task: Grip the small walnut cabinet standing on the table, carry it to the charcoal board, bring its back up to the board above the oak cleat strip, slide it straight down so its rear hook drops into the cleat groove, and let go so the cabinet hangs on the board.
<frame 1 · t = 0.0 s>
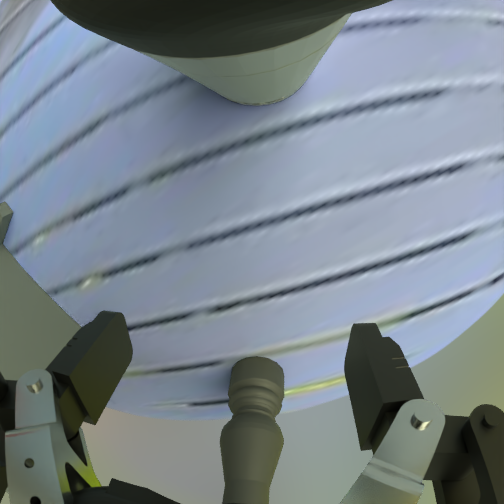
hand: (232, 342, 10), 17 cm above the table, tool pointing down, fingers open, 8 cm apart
wall board: (41, 294, 32), on the table
candle holder: (257, 374, 34), on the table
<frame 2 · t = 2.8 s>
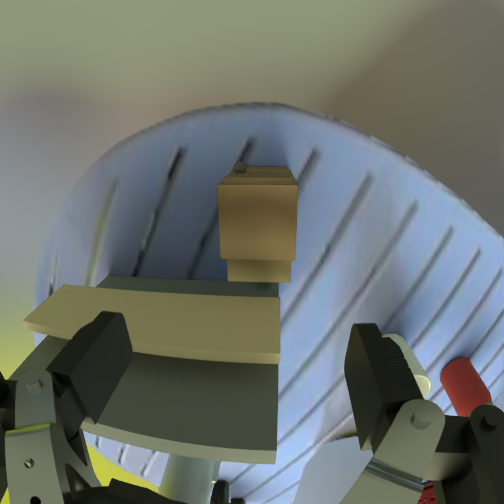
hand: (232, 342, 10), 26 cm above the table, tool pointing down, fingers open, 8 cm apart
plant pot: (422, 487, 63), on the table
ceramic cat: (230, 492, 64), on the table
beer can: (453, 368, 43), on the table
white cup: (385, 349, 41), on the table
wall board: (186, 286, 39), on the table
cabinet: (263, 195, 34), on the table
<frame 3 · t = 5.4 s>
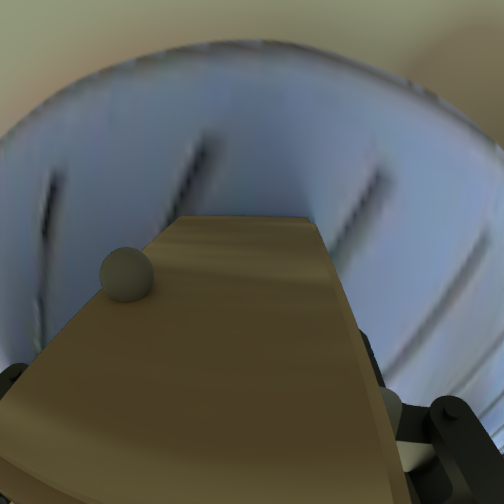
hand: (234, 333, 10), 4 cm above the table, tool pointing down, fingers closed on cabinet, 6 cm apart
cabinet: (244, 286, 14), on the table, touching gripper
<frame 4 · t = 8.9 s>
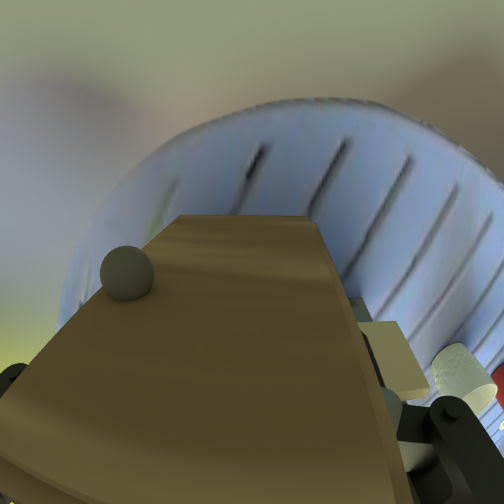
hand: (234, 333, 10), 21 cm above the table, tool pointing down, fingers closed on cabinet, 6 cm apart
beer can: (500, 372, 38), on the table
white cup: (448, 358, 37), on the table
wall board: (259, 305, 35), on the table
cabinet: (244, 285, 14), point 18 cm above the table, touching gripper
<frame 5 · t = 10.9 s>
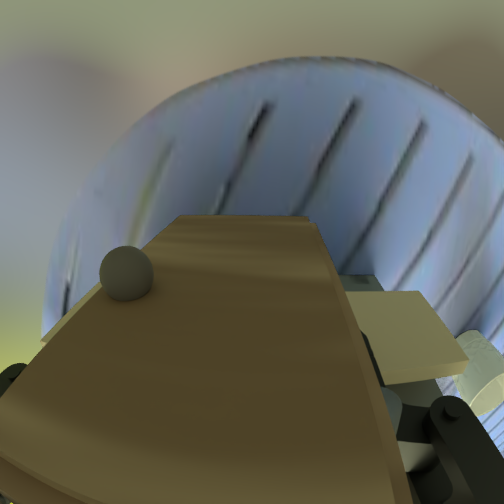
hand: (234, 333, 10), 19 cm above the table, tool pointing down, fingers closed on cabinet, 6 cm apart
white cup: (463, 347, 33), on the table
wall board: (261, 282, 31), on the table
cabinet: (244, 285, 14), point 16 cm above the table, touching gripper
when the fingers open (13 cm above the table, at t = 12.8 s): cabinet stays where it is, resting on wall board.
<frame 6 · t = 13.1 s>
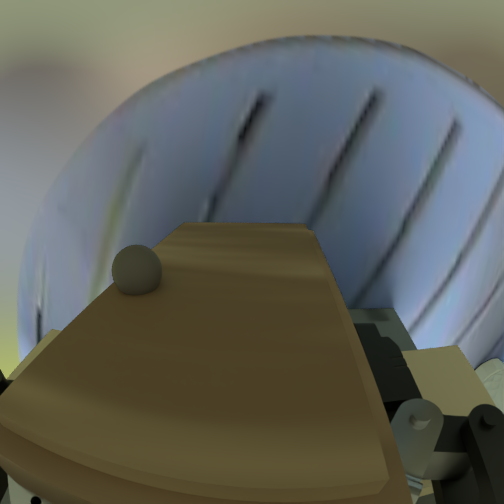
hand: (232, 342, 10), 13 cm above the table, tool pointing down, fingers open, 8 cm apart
white cup: (482, 377, 27), on the table
wall board: (256, 318, 25), on the table
cabinet: (245, 290, 14), point 9 cm above the table, touching wall board
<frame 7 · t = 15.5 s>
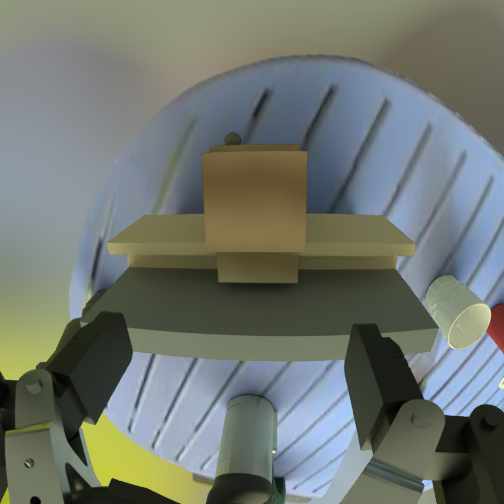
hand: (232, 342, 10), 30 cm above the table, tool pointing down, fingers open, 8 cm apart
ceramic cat: (271, 470, 65), on the table
beer can: (494, 316, 43), on the table
white cup: (441, 292, 42), on the table
wall board: (265, 226, 40), on the table
candle holder: (109, 304, 47), on the table
cabinet: (262, 180, 29), point 9 cm above the table, touching wall board
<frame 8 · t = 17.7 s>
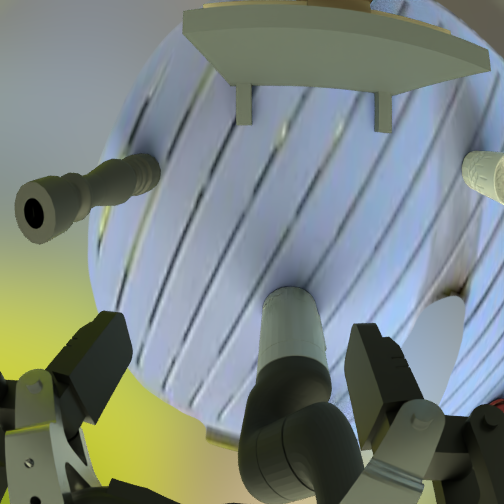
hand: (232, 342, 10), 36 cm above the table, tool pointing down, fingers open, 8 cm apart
plant pot: (489, 409, 61), on the table
white cup: (474, 169, 39), on the table
wall board: (314, 80, 37), on the table
candle holder: (143, 172, 44), on the table
cabinet: (321, 13, 26), point 9 cm above the table, touching wall board
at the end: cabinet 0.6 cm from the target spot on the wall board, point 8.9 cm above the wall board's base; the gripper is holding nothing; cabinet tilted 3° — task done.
